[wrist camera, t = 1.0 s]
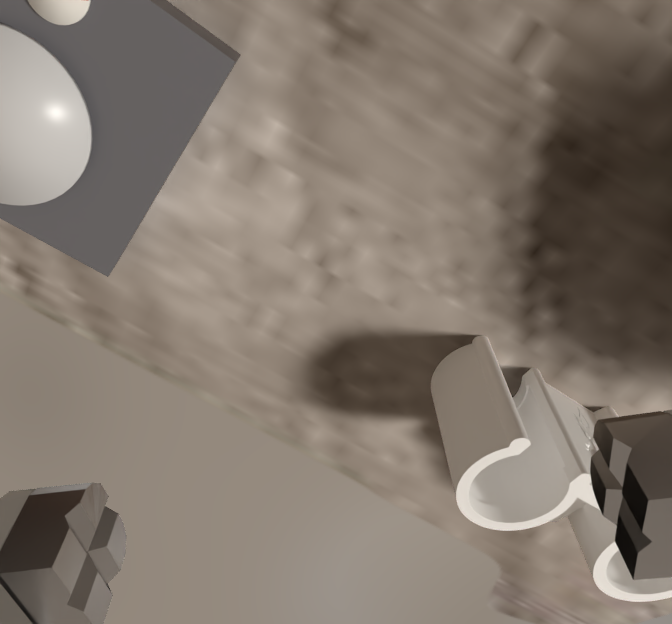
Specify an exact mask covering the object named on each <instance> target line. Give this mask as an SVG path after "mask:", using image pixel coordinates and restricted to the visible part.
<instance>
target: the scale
mask: <svg viewBox="0 0 672 624" xmlns="http://www.w3.org/2000/svg"><path fill="white" fill-rule="evenodd" d="M239 57H240V54H239V53H238V52H236V51H235V50H234V49H232V48H231V47H229V46H228V45H227V44H225V43H224V42H223V41H221V40H220V39H218V38H217V37H216V36H214V35H213V34H212V33H210V32H209V31H208V30H206V29H205V28H203V27H202V26H201V25H199V24H198V23H197V22H195V21H194V20H192V19H191V18H190V17H188V16H187V15H186V14H184V13H183V12H181V11H180V10H179V9H177V8H176V7H175V6H173V5H172V4H170V3H169V2H168V1H166V0H0V218H1V219H2V220H4V221H6V222H8V223H10V224H12V225H13V226H15V227H17V228H19V229H21V230H23V231H25V232H26V233H28V234H30V235H32V236H34V237H36V238H37V239H39V240H41V241H43V242H45V243H47V244H48V245H50V246H52V247H54V248H56V249H58V250H60V251H61V252H63V253H65V254H67V255H69V256H71V257H72V258H74V259H76V260H78V261H80V262H82V263H83V264H85V265H87V266H89V267H91V268H93V269H95V270H96V271H98V272H100V273H102V274H104V275H106V276H107V277H108V276H109V275H110V273H111V272H112V270H113V268H114V267H115V265H116V264H117V262H118V260H119V259H120V257H121V255H122V254H123V252H124V250H125V249H126V247H127V245H128V244H129V242H130V240H131V239H132V237H133V235H134V234H135V232H136V230H137V228H138V227H139V225H140V223H141V222H142V220H143V218H144V217H145V215H146V213H147V212H148V210H149V208H150V207H151V205H152V203H153V202H154V200H155V198H156V196H157V195H158V193H159V191H160V190H161V188H162V186H163V185H164V183H165V181H166V180H167V178H168V176H169V175H170V173H171V171H172V170H173V168H174V166H175V164H176V163H177V161H178V159H179V158H180V156H181V154H182V153H183V151H184V149H185V148H186V146H187V144H188V143H189V141H190V139H191V138H192V136H193V134H194V132H195V131H196V129H197V127H198V126H199V124H200V122H201V121H202V119H203V117H204V116H205V114H206V112H207V111H208V109H209V107H210V106H211V104H212V102H213V100H214V99H215V97H216V95H217V94H218V92H219V90H220V89H221V87H222V85H223V84H224V82H225V80H226V79H227V77H228V75H229V74H230V72H231V70H232V68H233V67H234V65H235V63H236V62H237V60H238V58H239Z"/></svg>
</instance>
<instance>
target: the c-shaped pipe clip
mask: <svg viewBox="0 0 672 624" xmlns="http://www.w3.org/2000/svg"><path fill="white" fill-rule="evenodd" d="M431 393H432V398H433V402H434V406H435V410H436V415H437V419H438V423H439V428H440V432H441V436H442V440H443V445H444V449H445V453H446V458H447V462H448V466H449V470H450V475H451V479H452V483H453V488H454V492H455V496H456V500H457V504H458V507H459V509H460V510H461V512H462V513H463V514H464V515H465V516H466V517H467V518H468V519H469V520H471V521H472V522H474V523H476V524H478V525H480V526H482V527H485V528H489V529H494V530H504V531H512V530H522V529H528V528H532V527H535V526H539V525H541V524H544V523H546V522H549V521H551V522H557V521H559V520H561V519H563V518H564V517H566V516H568V519H569V521H570V524H571V526H572V528H573V531H574V533H575V536H576V538H577V540H578V543H579V545H580V548H581V550H582V552H583V555H584V557H585V560H586V562H587V564H588V567H589V569H590V572H591V574H592V576H593V579H594V581H595V583H596V585H597V586H598V588H599V589H600V590H601V591H603V592H604V593H605V594H607V595H609V596H611V597H614V598H617V599H621V600H626V601H636V602H644V601H655V600H661V599H666V598H670V597H672V577H668V578H655V579H641V580H633V578H632V576H631V574H630V572H629V570H628V568H627V566H626V564H625V562H624V560H623V557H622V555H621V553H620V551H619V549H618V547H617V545H616V543H615V535H616V528H617V525H615V524H614V523H612V522H611V521H609V520H608V519H607V518H605V517H604V516H603V515H602V512H601V510H600V508H599V506H598V504H597V501H596V498H595V495H594V492H593V488H592V482H591V475H590V465H591V457H592V456H593V455H594V454H595V453H596V452H597V451H598V450H599V448H598V446H597V444H596V442H595V440H594V438H593V434H594V426H595V424H596V422H597V420H599V419H606V418H614V417H618V415H617V413H616V412H615V410H614V409H613V408H612V407H604V408H601V409H599V410H597V411H595V412H592V411H590V410H589V409H587V408H586V407H584V406H582V405H581V404H579V403H578V402H576V401H574V400H573V399H571V398H569V397H568V396H566V395H565V394H563V393H561V392H560V391H558V390H557V389H555V388H553V387H552V386H550V385H549V384H547V383H545V381H544V379H543V377H542V375H541V373H540V371H539V370H538V369H537V368H531V369H530V370H529V371H528V372H526V373H525V374H524V375H523V376H522V382H521V386H520V388H519V390H518V392H517V393H516V395H515V396H514V397H513V398H512V396H511V393H510V391H509V388H508V386H507V383H506V381H505V378H504V376H503V373H502V371H501V369H500V366H499V364H498V361H497V359H496V356H495V354H494V351H493V349H492V346H491V344H490V341H489V339H488V338H487V337H486V336H483V335H480V336H477V337H475V338H474V339H473V341H472V344H469V345H466V346H463V347H461V348H459V349H457V350H455V351H453V352H452V353H450V354H449V355H448V356H446V357H445V358H444V359H443V360H442V361H441V362H440V363H439V365H438V366H437V368H436V369H435V371H434V373H433V376H432V379H431Z"/></svg>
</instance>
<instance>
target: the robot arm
mask: <svg viewBox="0 0 672 624" xmlns="http://www.w3.org/2000/svg"><path fill="white" fill-rule="evenodd" d="M593 438H594V440H595V442H596V444H597V446H598V448H599V450H598V451H597V452H596V453H595V454H594V455H593V456H592V457H591V465H590V475H591V482H592V488H593V492H594V495H595V498H596V501H597V504H598V506H599V508H600V510H601V512H602V515H603V516H604V517H605V518H607V519H608V520H609V521H611V522H612V523H614V524H615V525H617V528H616V535H615V543H616V545H617V547H618V549H619V551H620V553H621V555H622V557H623V560H624V562H625V564H626V566H627V568H628V570H629V572H630V574H631V576H632V578H633V580H641V579H655V578H668V577H672V410H667V411H663V412H661V411H658V412H651V413H643V414H636V415H628V416H621V417H614V418H606V419H599V420H597V422H596V424H595V426H594V434H593ZM107 499H108V495H107V493H106V492H105V490H104V488H103V487H102V485H101V484H100V483H85V484H75V485H65V486H54V487H45V488H37V489H28V490H19V491H9V492H8V493H7V494H5V495H4V496H3V497H2V498H0V624H103V623H104V620H105V617H106V614H107V611H108V608H109V605H110V602H111V599H112V596H113V595H112V593H111V590H110V588H109V586H108V583H109V581H110V580H111V579H113V577H114V576H115V575H116V574H117V573H118V572H119V571H120V570H121V567H122V564H123V560H124V557H125V552H126V533H125V528H124V524H123V522H122V520H121V518H120V516H119V514H118V513H116V512H114V511H113V510H111V509H109V508H107V507H106V506H105V505H106V502H107Z"/></svg>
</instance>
